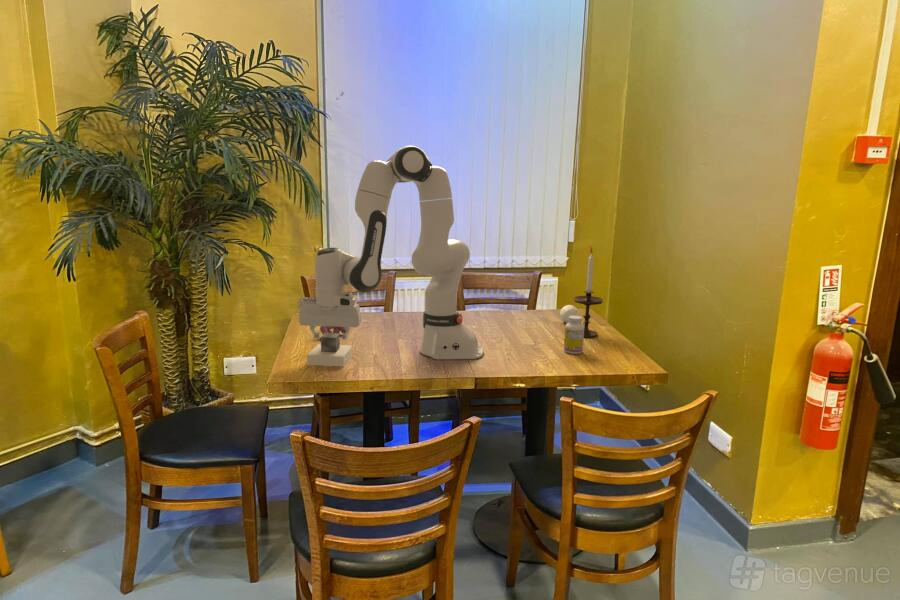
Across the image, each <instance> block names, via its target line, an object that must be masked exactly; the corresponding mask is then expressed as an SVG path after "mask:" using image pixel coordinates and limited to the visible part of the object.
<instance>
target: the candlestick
mask: <svg viewBox="0 0 900 600" xmlns="http://www.w3.org/2000/svg"><path fill="white" fill-rule="evenodd" d="M589 251H590V255H589V257H588V261H587V275H586V277H587V279H586V290H585V291H583V293H585V295H577V296H574V297H573V302H574V303H577V304H582V305H584V306H585V314H583V315H582V316H583V317H582V318H583V319H584V321H582V322H583V323H582V324H584V339H594V337H595V338H598V336H599V333H598V332H597V331H596V330H591V329H589V324H590V323H591V322H590V319H591V314H590V307H591V306H594V305H595V306H597V305H601V304H603V298H602V297H598V296H593V295H592V294H594V293H595V292H594V291H592V290H593V289H592V287H593V271H594V259H595V257H593V252H594V251H593V246H590V250H589Z"/></svg>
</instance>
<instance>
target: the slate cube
mask: <svg viewBox="0 0 900 600" xmlns="http://www.w3.org/2000/svg"><path fill="white" fill-rule="evenodd" d="M340 341H341V340H340V333H339V334H336V333H333V332H332V333H324V334H322V335H321V336H320V344H321V352H337V351H338V349H339V348H340V345H341V344H340Z"/></svg>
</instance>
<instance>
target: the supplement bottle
mask: <svg viewBox="0 0 900 600" xmlns="http://www.w3.org/2000/svg"><path fill="white" fill-rule="evenodd" d="M568 320H569V323H565V326H564V327H565V328H564V342H563V350H564V352H565V353H566V354H569V353H570V354H571V355H580V354H581V353H582V354H583V351H584V341H585V340H584V339H585V338H584V327H585V324H584V323H582V322H583V317H582V316H581V315H579V316H574V315H573V316H569V319H568Z"/></svg>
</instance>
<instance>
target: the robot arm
mask: <svg viewBox="0 0 900 600" xmlns="http://www.w3.org/2000/svg"><path fill="white" fill-rule="evenodd" d="M410 182H412V183H414V185H415V186H416V188H417V191H418V198H419V199H418V200H419V211H420V233H419V237H418V242H417V246H416V247H415V249H414V250H413V253H412V254H411V265H412V268H413V270H414V271H415V272H416V273H418V274H419V275H421V276H429V277H430V276H431V278H430V281H429V283H428V284H427V286H426V288H425V290H424V312H423V314H422V325H423V333H422V334H423V335H422V341H421V344H420V348H419V353H421V354H422V355H423V356H427V357H430V358H431V359H434V360H478V359H480V358H482V357H483V356H484V352H485V351H484V347H483V346H482V345H480V344H478V343H479V341H478V338H477V335H476V334H475V332H474V331H473V330H471V328H469V327H467V326H466V325H465V324H463V319H464V318H463V315H462V313H459V312H458V311H457V305H458V304H457V303H458V302H457V301H458V298H457V297H458V289H459V284H460V280H461V277H462V274H463V270H464V269H465V267H466V265H467V264H468V263H469V260H470V255H471V254H470V249H469V246H468V245H467V243H465V242H464V241H463V240H457V239H450V238H449V235H450V231H451V228H452V226H453V225H454V223H455V217H454V216H455V215H454V214H455V212H454V206H453V205H454V204H453V195H452V188H451V183H450V179H449V176H448V173H447V170H445V169H444V168H443V167H440V166H437V165H433V163H432V162H431V161H430V159H429V158H428V156H427V154H426V152H424V150H423V149H421V148H420V147H418V146H415V145H406V146H403V147H401V148H399V149H398V150H397V151H395V152H394V154H392V155H391V156H390V158H389V159H387V161H383V160H372V161H369V162H368V163H367V165H366V167H365V169H364V171H363V173H362V176H361V178H360V181H359V184H358V186H357V187H358V188H357V190H356V191H357V192H356V194H355V200H354V211H355V213H356V215H357V217H358V218H359V219H360V220H361V222H362V225H363V226H364V238H363V244H362V245H363V246H362V251H361V255H360V257H359V256H354V255H351V254H349V253H346V252H345V251H343V250H341V249H340V248H339V247H325V248H323V249H320V250H319V251H318V252H317V253H316V256H315V259H314V260H315V262H314V276H315V277H314V278H315V282H316V284H315V296H313V297H307V296H303V297H302V298H300V299H299V300H298V310H299V312H298V323H299V325H301V326H309V329H310V331H311V332H312V334H313V339H316V340H317V339H318V340H319V339H320V338H321V336H320V332H317V329H316V327H320V326H335V327H345V330H347V331H346V333H342V334H341V339H342V340H343V341H344V340H348V335H349V333H350V330H351V328H358V327H360V326H361V324H362V314H361V313H362V312H361V308H360V305H359V303H357V302H358V296H357V295H355V294H352V293H349V292H347V291H344V286H350V287H352V288H354V289H355V290H357V291H358V292H360V293H370V292H372V291H374V290H375V289H377V288H378V286H379V285H380V284H381V281H382V278H383V277H382V275H383V273H382V266H381V265H382V264H381V262H382V255H383V250H384V244H385V237H386V232H387V231H386V230H387V221H388V219H387V217H388V211H389V205H390V201H391V198H392V193H393V190H394V188H395V185H397V183H410ZM347 334H348V335H347ZM477 358H478V359H477Z"/></svg>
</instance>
